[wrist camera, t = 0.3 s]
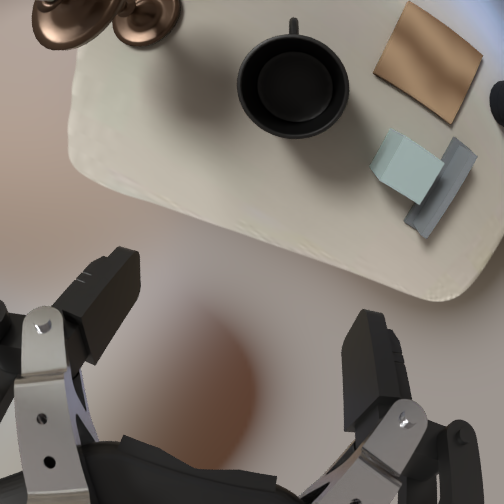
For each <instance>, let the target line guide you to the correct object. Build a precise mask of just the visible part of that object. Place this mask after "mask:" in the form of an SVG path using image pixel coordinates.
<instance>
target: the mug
mask: <svg viewBox="0 0 504 504" xmlns="http://www.w3.org/2000/svg"><path fill="white" fill-rule="evenodd" d="M237 92H238V97H239V100H240V103H241V105H242V108H243V109H244V111H245V113H246V114H247V116H248V117H249V118H250V119H251V120H252V121H253V122H254V123H255V124H256V125H257V126H258V127H260V128H261V129H263V130H264V131H266V132H268V133H270V134H272V135H275V136H278V137H282V138H288V139H303V138H309V137H312V136H315V135H318V134H320V133H322V132H324V131H326V130H327V129H328V128H330V127H331V126H332V125H333V124H334V123H335V122H336V121H337V120H338V119H339V118H340V116H341V115H342V113H343V111H344V109H345V107H346V105H347V101H348V97H349V80H348V76H347V72H346V70H345V67H344V65H343V64H342V62H341V60H340V59H339V57H338V56H337V55H336V54H335V53H334V52H333V51H332V50H331V49H330V48H329V47H328V46H326V45H325V44H323V43H321V42H320V41H318V40H315V39H313V38H311V37H307V36H303V35H299V28H298V20H297V18H294V17H292V18H291V19H290V21H289V34H287V35H280V36H275V37H272V38H269V39H267V40H265V41H263V42H261V43H260V44H258V45H257V46H256V47H254V48H253V49H252V50H251V51H250V52H249V53H248V55H247V56H246V57H245V59H244V61H243V62H242V64H241V67H240V69H239V73H238V78H237Z"/></svg>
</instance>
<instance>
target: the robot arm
mask: <svg viewBox="0 0 504 504" xmlns="http://www.w3.org/2000/svg"><path fill="white" fill-rule="evenodd" d="M140 287H141V282H140V255H139V252H138V251H134V250H131V249H127V248H124V247H120V246H119V247H117V248H116V249H115V250H114V251H113V252H112V253H111V254H110V255H109V256H108V257H105V256H102V257H101V258H99V259H97V260H95V261H93V262H91V263H90V264H89V265H88V266H87V267H86V268H85V270H84V271H83V273H81V274H80V275H79V276H78V277H77V278H76V280H74V281H73V282H72V284H71V285H70V286H69V287H68V288H67V289H66V290H65V291H64V292H63V294H62V295H61V296H60V297H59V298H58V299H57V300H56V302H55V303H54V304H53V305H52V306H51V307H50V306H42V307H38V308H35V309H33V310H32V311H30V312H29V313H28V314H27V315H20V314H13V313H8V311H7V308H6V306H5V304H4V302H2V301H1V300H0V422H1V420H2V419H3V417H4V415H5V413H6V411H7V409H8V407H9V405H10V403H11V402H12V400H13V398H14V400H15V401H14V402H15V416H16V427H17V435H18V444H19V451H20V457H21V463H22V468H23V471H21V472H18V473H15V474H13V475H10V476H7V477H5V478H1V479H0V504H390V502H391V501H392V500H393V498H394V496H395V495H396V494H397V492H398V504H437V481H436V475H438V474H439V479H440V501H439V504H484V493H483V481H482V472H481V464H480V456H479V450H478V443H477V438H476V434H475V431H474V429H473V428H472V426H471V425H470V424H469V423H467V422H466V421H463V420H455V421H453V422H452V423H450V424H449V425H448V426H447V427H446V426H443V425H440V424H437V423H435V422H432V421H430V420H427V416H426V413H425V411H424V410H423V408H422V407H421V406H420V405H419V404H418V403H416V402H415V401H413V400H412V397H411V392H410V386H409V381H408V377H407V372H406V367H405V365H404V359H403V355H402V350H401V346H400V342H399V340H398V338H397V337H396V335H395V334H394V332H393V331H392V330H391V329H387V326H386V322H385V318H384V315H383V314H382V313H379V312H374V311H370V310H365V309H362V310H361V311H360V313H359V314H358V316H357V318H356V320H355V322H354V323H353V325H352V327H351V329H350V330H349V332H348V334H347V336H346V338H345V340H344V343H343V346H342V352H341V356H342V374H343V399H344V431H345V432H355V440H354V441H353V442H352V443H351V444H350V445H349V446H348V447H347V449H346V450H345V451H344V452H343V453H342V454H341V455H340V457H339V458H338V459H337V460H336V461H335V462H334V463H333V464H332V465H331V467H330V468H329V469H328V470H327V471H326V472H325V473H324V474H323V475H322V476H321V477H320V478H319V479H318V480H317V481H316V482H314V483H313V484H312V485H311V486H310V487H308V488H307V489H306V490H305V491H304V492H303V493H302V494H301V495H299V496H298V497H297V496H296V495H295V494H294V493H292V492H290V491H289V490H287V489H286V488H284V487H282V486H280V485H277V484H276V480H277V476H272V475H266V474H259V473H254V472H248V471H243V470H204V469H195V468H193V467H191V466H189V465H187V464H186V463H184V462H182V461H180V460H178V459H176V458H175V457H173V456H172V455H170V454H168V453H166V452H165V451H163V450H161V449H160V448H158V447H155V446H152V445H149V444H146V443H144V442H141V441H138V440H136V439H133V438H131V437H128V436H126V435H123V437H122V439H121V442H117V441H115V442H114V441H99V439H98V436H97V433H96V430H95V427H94V425H93V422H92V419H91V416H90V412H89V408H88V403H87V398H86V393H85V388H84V383H83V377H82V371H81V366H82V365H83V363H84V362H85V361H86V362H88V363H91V364H93V365H96V364H97V362H98V360H99V359H100V357H101V355H102V354H103V352H104V351H105V349H106V347H107V346H108V344H109V343H110V341H111V339H112V338H113V336H114V335H115V333H116V331H117V330H118V328H119V327H120V325H121V323H122V322H123V320H124V319H125V317H126V316H127V314H128V313H129V311H130V310H131V308H132V307H133V305H134V303H135V302H136V301H137V298H138V296H139V292H140Z"/></svg>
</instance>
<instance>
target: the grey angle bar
mask: <svg viewBox="0 0 504 504" xmlns="http://www.w3.org/2000/svg"><path fill="white" fill-rule="evenodd" d="M477 157H478V156H476V155H475V154H474V153H473V152H472V151H471V150H470V149H469V148H468V147H467V146H465V145H464V144H463V143H462V142H460V141H459V140H458V139H457V138H455V137H453V139H452V140H451V142H450V144H449V146H448V148H447V150H446V151H445V153H444V155H443V157H442V159H441V161H442V162H444V163H445V164H444V165H443V167H442V169H441V170H440V172H439V174H438V176H437V177H436V179H435V181H434V182H433V184H432V186H431V187H430V189H429V191H428V192H427V194H426V195H425V197H424V199H423V200H422V202H421V203H420V205H419V204H417V203H416V202H415V204H414V205H413V207H412V209H411V210H410V212H409V213H408V215H407V216H406V218H405V219H404V222H405V223H406V224H408V225H410V226H411V227H413V228H415V229H416V230H418V232H419V233H420V235H421V236H423V237H424V238H426V239H427V238H428V236H429V235H430V233H431V232H432V230H433V229H434V228H435V226H436V225H437V223H438V222H439V220H440V219H441V217H442V216H443V214H444V212H445V211H446V209H447V208H448V206H449V205H450V203H451V201H452V200H453V198H454V197H455V195H456V193H457V192H458V190H459V188H460V187H461V185H462V183H463V182H464V180H465V178H466V177H467V175H468V173H469V171H470V170H471V168H472V166H473V164H474V163H475V161H476V159H477Z"/></svg>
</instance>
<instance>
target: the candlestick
mask: <svg viewBox="0 0 504 504" xmlns="http://www.w3.org/2000/svg"><path fill="white" fill-rule="evenodd" d="M180 8H181V7H180V0H35V2H34V5H33V11H32V27H33V32H34V34H35V37H36V39H37V40H38V41H39V43H40V44H41V45H43V46H44V47H46V48H47V49H51V50H71V49H75V48H78V47H81V46H83V45H85V44H87V43H88V42H90V41H91V40H93V39H94V38H96V37H97V36H98V35H99V34H100V33H101V32H102V31H104V30H105V28H106V27H107V26H108V25H109V24H110V23H111V22H112V23H113V29H114V33H115V34H116V36H117V38H118V39H119V40H120V41H122V42H123V43H125V44H127V45H130V46H139V47H141V46H148V45H152V44H154V43H156V42H158V41H160V40H161V39H163V38H164V37H165V36H166V35H168V34H169V33H170V32H171V30H172V29H173V28H174V26H175V24H176V23H177V21H178V18H179V15H180ZM112 20H113V21H112Z"/></svg>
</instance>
